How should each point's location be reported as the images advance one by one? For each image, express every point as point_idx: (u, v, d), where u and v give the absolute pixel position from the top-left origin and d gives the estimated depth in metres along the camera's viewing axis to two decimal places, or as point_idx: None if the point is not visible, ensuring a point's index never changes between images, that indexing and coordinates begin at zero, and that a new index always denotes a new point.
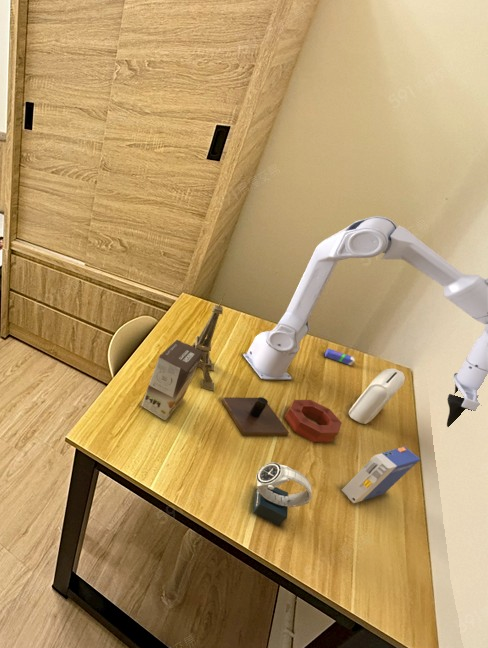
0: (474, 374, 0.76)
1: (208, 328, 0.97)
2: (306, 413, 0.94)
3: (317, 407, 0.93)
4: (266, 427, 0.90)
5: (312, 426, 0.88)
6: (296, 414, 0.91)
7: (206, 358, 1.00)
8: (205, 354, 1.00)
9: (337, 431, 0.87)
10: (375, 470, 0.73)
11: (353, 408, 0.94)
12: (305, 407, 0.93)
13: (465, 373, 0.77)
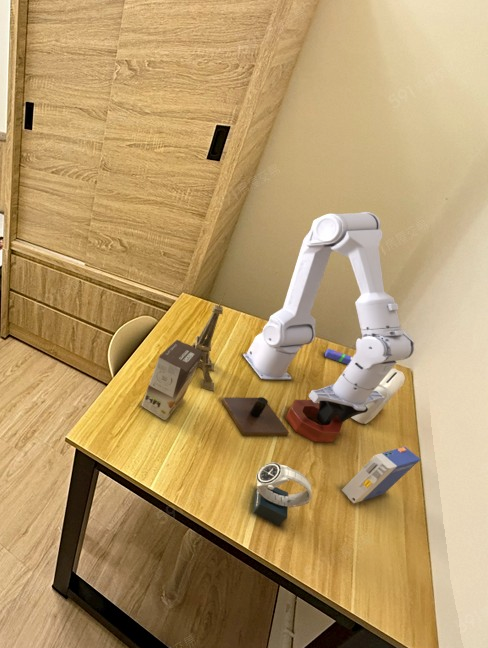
0: (339, 380, 0.86)
1: (208, 328, 0.97)
2: (307, 413, 0.94)
3: (318, 407, 0.93)
4: (266, 427, 0.90)
5: (313, 426, 0.88)
6: (298, 414, 0.91)
7: (206, 358, 1.00)
8: (205, 354, 1.00)
9: (338, 431, 0.87)
10: (375, 470, 0.73)
11: None
12: (306, 407, 0.93)
13: None
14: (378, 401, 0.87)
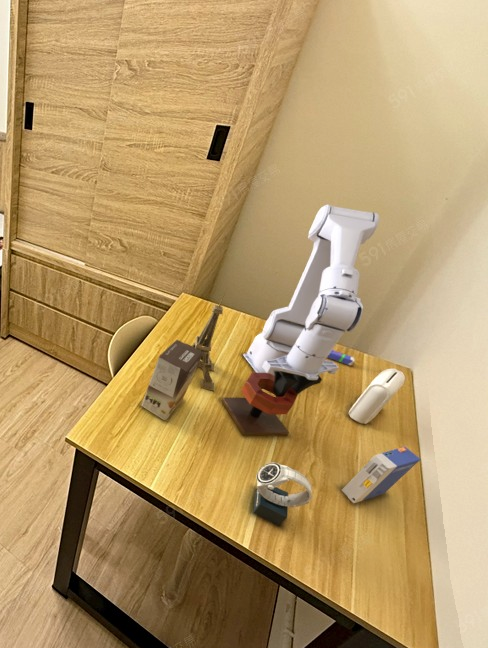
0: (292, 349, 0.84)
1: (208, 328, 0.97)
2: (264, 386, 0.92)
3: None
4: (266, 427, 0.90)
5: (267, 397, 0.86)
6: (252, 386, 0.88)
7: (206, 358, 1.00)
8: (205, 354, 1.00)
9: (292, 402, 0.85)
10: (375, 470, 0.73)
11: (353, 408, 0.94)
12: (262, 380, 0.91)
13: (291, 349, 0.85)
14: (333, 371, 0.84)
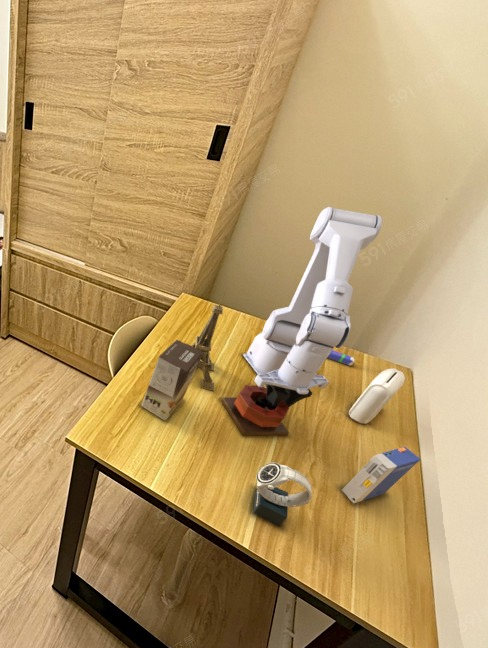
0: (283, 364, 0.86)
1: (208, 328, 0.97)
2: (256, 399, 0.94)
3: (266, 392, 0.93)
4: (266, 427, 0.90)
5: (259, 410, 0.88)
6: (245, 399, 0.91)
7: (206, 358, 1.00)
8: (205, 354, 1.00)
9: (283, 415, 0.87)
10: (375, 470, 0.73)
11: (353, 408, 0.94)
12: (255, 392, 0.93)
13: (282, 363, 0.87)
14: (323, 385, 0.87)
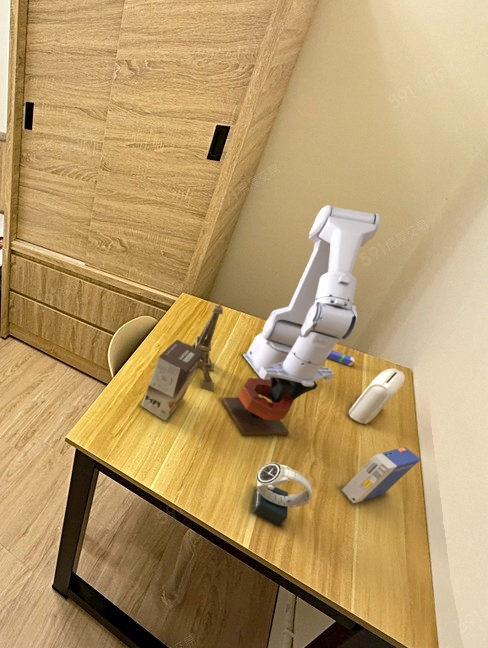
0: (288, 356, 0.85)
1: (208, 328, 0.97)
2: (260, 392, 0.93)
3: None
4: (266, 427, 0.90)
5: (263, 403, 0.87)
6: (249, 391, 0.90)
7: (206, 358, 1.00)
8: (205, 354, 1.00)
9: (288, 408, 0.86)
10: (375, 470, 0.73)
11: (353, 408, 0.94)
12: (259, 385, 0.92)
13: (287, 355, 0.86)
14: (328, 378, 0.85)
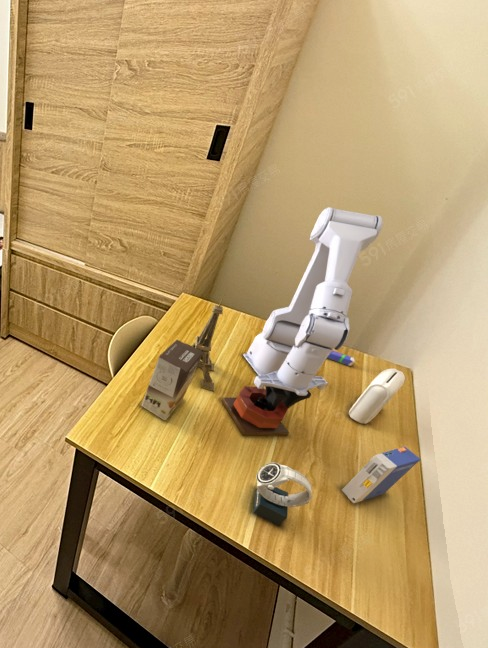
0: (282, 365, 0.86)
1: (208, 328, 0.97)
2: (255, 400, 0.94)
3: None
4: None
5: (257, 412, 0.88)
6: (244, 400, 0.91)
7: (206, 358, 1.00)
8: (205, 354, 1.00)
9: (282, 417, 0.87)
10: (375, 470, 0.73)
11: (353, 408, 0.94)
12: (254, 393, 0.93)
13: (281, 365, 0.87)
14: (322, 387, 0.87)
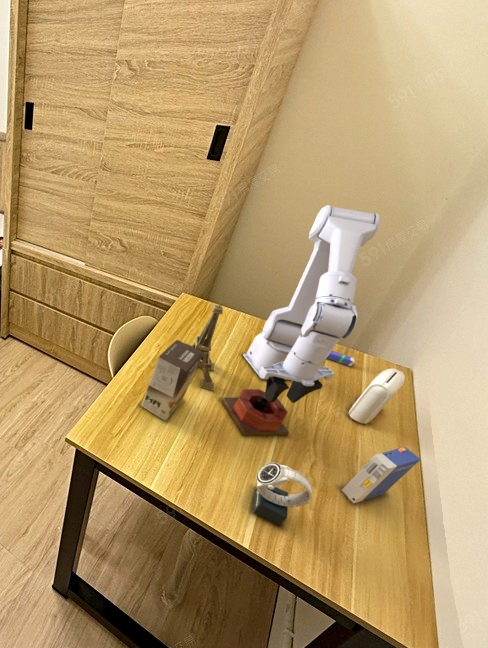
0: (288, 356, 0.85)
1: (208, 328, 0.97)
2: None
3: None
4: None
5: (257, 415, 0.89)
6: (243, 403, 0.92)
7: (206, 358, 1.00)
8: (205, 354, 1.00)
9: (281, 420, 0.88)
10: (375, 470, 0.73)
11: (353, 408, 0.94)
12: (253, 396, 0.94)
13: (287, 355, 0.86)
14: (328, 377, 0.85)
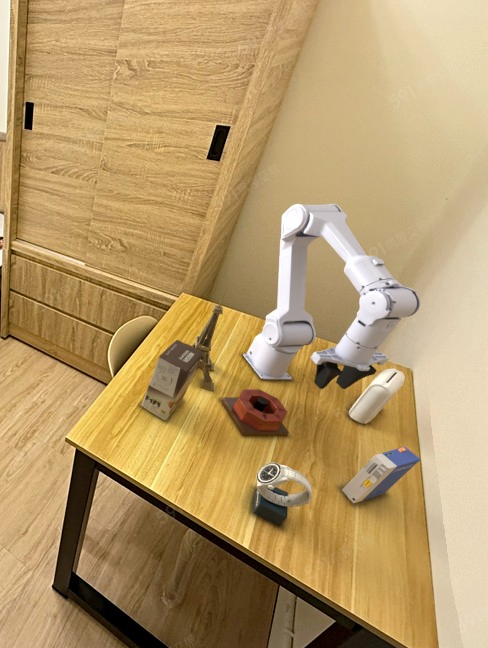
0: (342, 340, 0.84)
1: (208, 328, 0.97)
2: None
3: (265, 396, 0.93)
4: None
5: (257, 415, 0.89)
6: (243, 403, 0.92)
7: (206, 358, 1.00)
8: (205, 354, 1.00)
9: (281, 420, 0.88)
10: (375, 470, 0.73)
11: (353, 408, 0.94)
12: (253, 396, 0.94)
13: (340, 340, 0.85)
14: (382, 363, 0.84)
